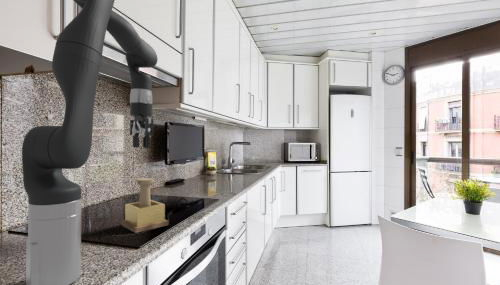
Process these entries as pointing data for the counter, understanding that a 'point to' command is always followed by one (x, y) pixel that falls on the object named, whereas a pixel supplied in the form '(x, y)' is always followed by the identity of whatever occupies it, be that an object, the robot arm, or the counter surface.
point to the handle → (145, 191)
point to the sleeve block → (144, 216)
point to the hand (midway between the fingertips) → (140, 147)
